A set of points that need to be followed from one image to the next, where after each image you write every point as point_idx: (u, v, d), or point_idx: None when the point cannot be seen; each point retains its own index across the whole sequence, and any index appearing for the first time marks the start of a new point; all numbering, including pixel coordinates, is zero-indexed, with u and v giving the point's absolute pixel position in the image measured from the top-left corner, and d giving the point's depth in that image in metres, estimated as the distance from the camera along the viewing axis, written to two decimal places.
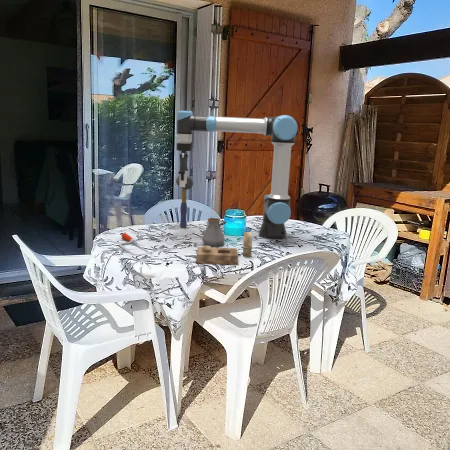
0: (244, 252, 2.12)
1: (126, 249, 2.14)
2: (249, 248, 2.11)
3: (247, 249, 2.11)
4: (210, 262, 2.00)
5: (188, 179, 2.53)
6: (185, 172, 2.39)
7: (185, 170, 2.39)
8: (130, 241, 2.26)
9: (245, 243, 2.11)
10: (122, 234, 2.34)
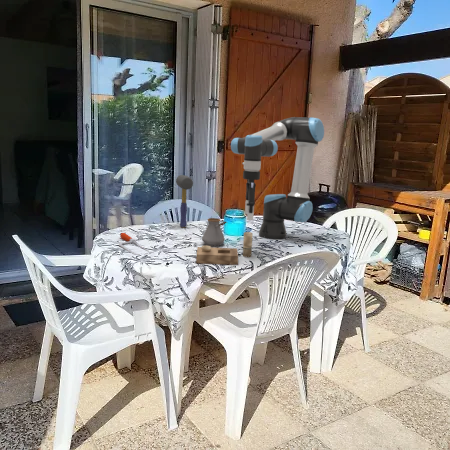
0: (244, 252, 2.12)
1: (127, 249, 2.15)
2: (249, 248, 2.11)
3: (247, 249, 2.11)
4: (210, 262, 2.00)
5: (188, 179, 2.53)
6: None
7: None
8: (130, 241, 2.27)
9: (245, 243, 2.11)
10: (121, 234, 2.34)
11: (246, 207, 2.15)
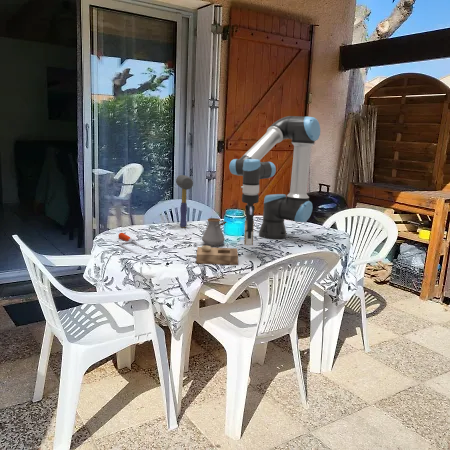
0: None
1: (128, 248, 2.15)
2: None
3: None
4: (210, 262, 2.00)
5: (188, 179, 2.53)
6: None
7: None
8: (129, 240, 2.28)
9: None
10: (119, 234, 2.34)
11: None
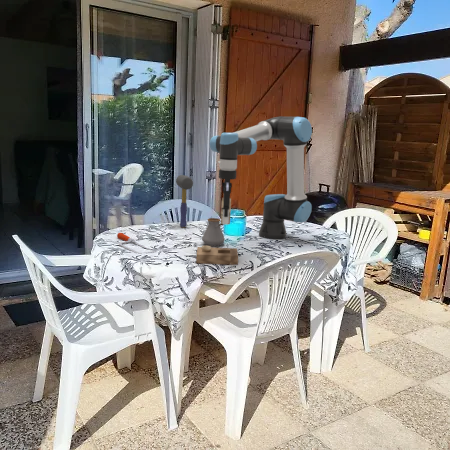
0: None
1: (128, 248, 2.16)
2: None
3: None
4: (210, 262, 2.00)
5: (188, 179, 2.53)
6: None
7: None
8: (128, 240, 2.28)
9: None
10: (118, 234, 2.35)
11: None
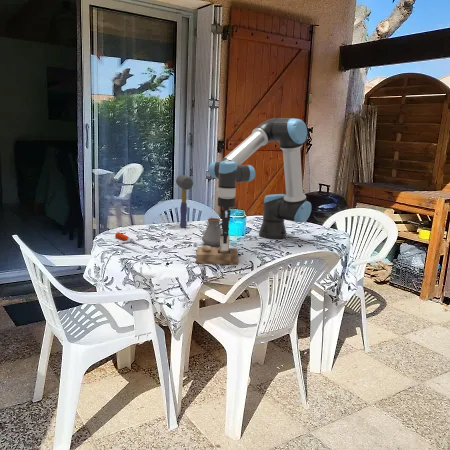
0: None
1: (129, 248, 2.16)
2: (226, 252, 2.03)
3: None
4: (210, 262, 2.00)
5: (188, 179, 2.53)
6: None
7: None
8: (127, 240, 2.28)
9: None
10: (116, 233, 2.35)
11: None
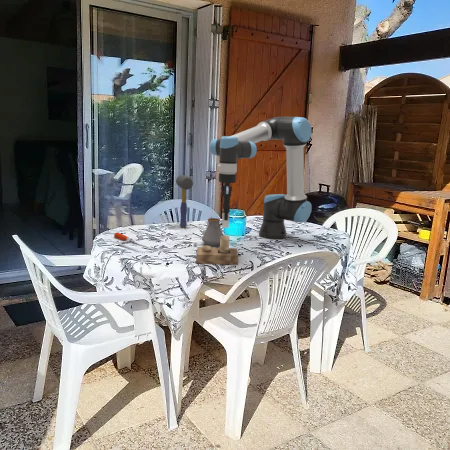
0: None
1: (130, 247, 2.17)
2: (226, 252, 2.03)
3: None
4: (210, 262, 2.00)
5: (188, 179, 2.53)
6: None
7: None
8: (127, 240, 2.29)
9: (221, 247, 2.03)
10: (115, 233, 2.35)
11: (223, 216, 2.05)
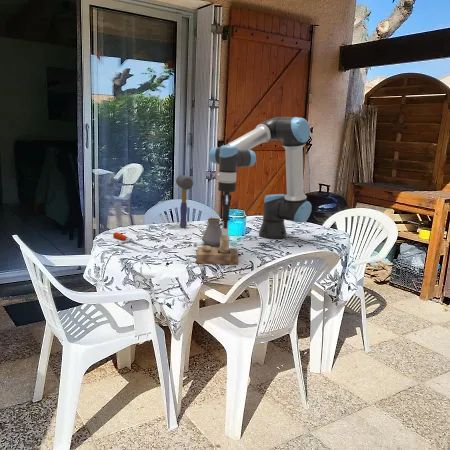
0: None
1: (130, 247, 2.17)
2: (226, 252, 2.03)
3: None
4: (210, 262, 2.00)
5: (188, 179, 2.53)
6: None
7: None
8: (126, 239, 2.29)
9: (221, 247, 2.03)
10: (114, 233, 2.35)
11: None
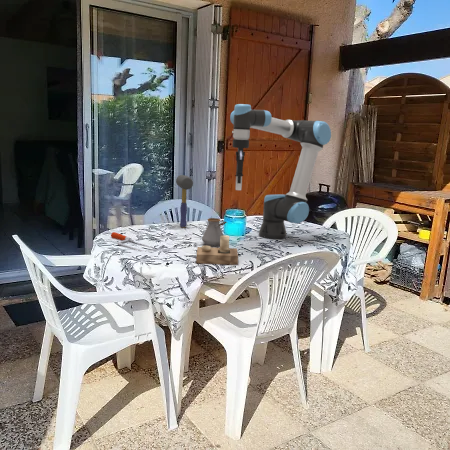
0: None
1: (131, 247, 2.18)
2: (226, 252, 2.03)
3: None
4: (210, 262, 2.00)
5: (188, 179, 2.53)
6: None
7: None
8: (125, 239, 2.30)
9: (221, 247, 2.03)
10: (112, 233, 2.35)
11: None
